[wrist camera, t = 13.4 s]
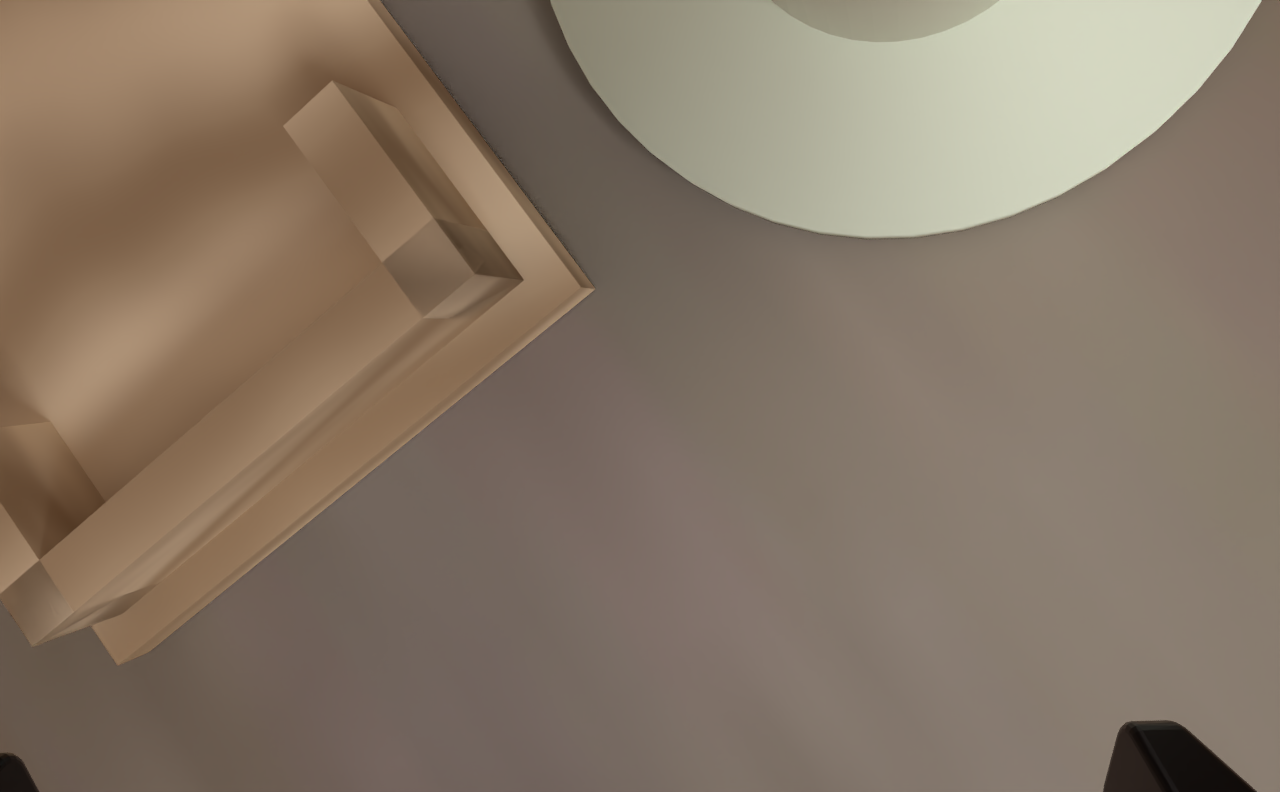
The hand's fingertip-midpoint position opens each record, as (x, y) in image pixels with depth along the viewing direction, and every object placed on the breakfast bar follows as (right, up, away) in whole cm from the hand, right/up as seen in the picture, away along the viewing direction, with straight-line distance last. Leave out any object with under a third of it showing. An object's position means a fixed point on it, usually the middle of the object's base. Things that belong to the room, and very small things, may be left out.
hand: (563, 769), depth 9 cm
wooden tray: (-9, +7, +15) cm, 19 cm away
